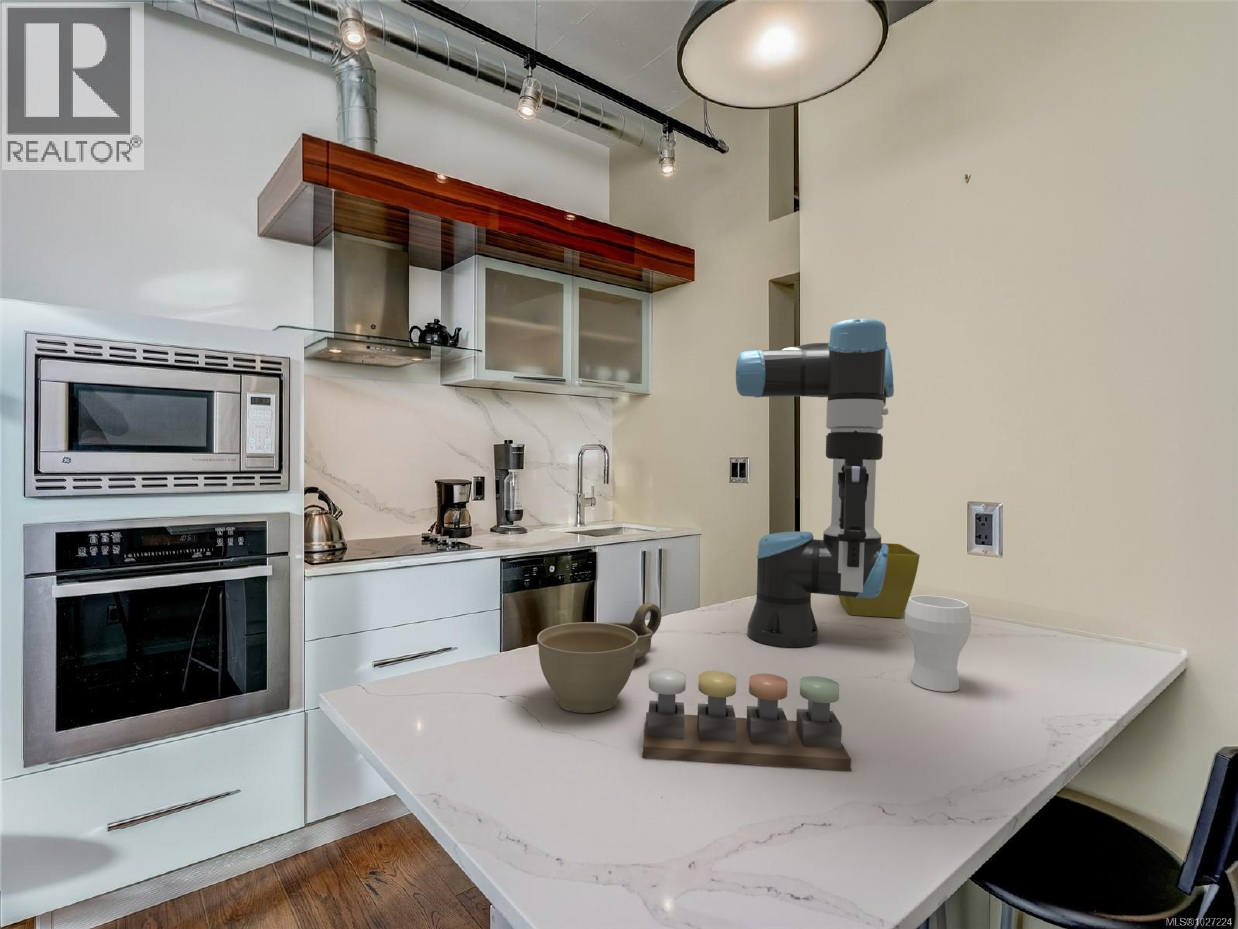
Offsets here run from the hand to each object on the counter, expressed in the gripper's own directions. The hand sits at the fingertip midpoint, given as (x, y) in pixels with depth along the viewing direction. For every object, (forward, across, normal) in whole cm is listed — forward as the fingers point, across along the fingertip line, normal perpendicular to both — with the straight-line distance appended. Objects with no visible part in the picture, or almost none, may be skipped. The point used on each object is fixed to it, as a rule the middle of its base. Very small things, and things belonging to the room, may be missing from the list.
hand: (849, 582), depth 90 cm
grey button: (+19, -8, +24) cm, 32 cm away
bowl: (+23, +24, +40) cm, 52 cm away
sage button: (+19, -4, +4) cm, 20 cm away
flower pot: (+22, +83, -9) cm, 86 cm away
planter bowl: (+23, 0, +39) cm, 46 cm away
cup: (+23, +30, -16) cm, 41 cm away
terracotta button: (+19, -5, +10) cm, 22 cm away
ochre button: (+19, -7, +17) cm, 27 cm away
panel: (+23, -6, +14) cm, 27 cm away
